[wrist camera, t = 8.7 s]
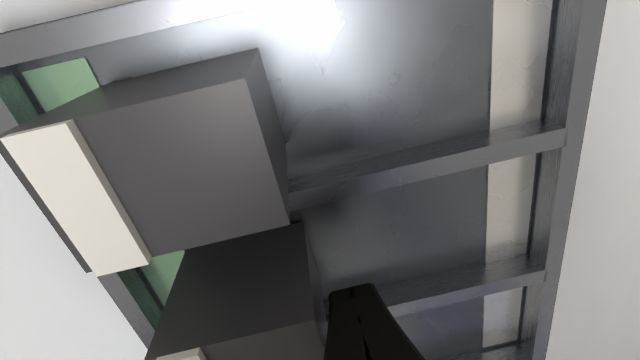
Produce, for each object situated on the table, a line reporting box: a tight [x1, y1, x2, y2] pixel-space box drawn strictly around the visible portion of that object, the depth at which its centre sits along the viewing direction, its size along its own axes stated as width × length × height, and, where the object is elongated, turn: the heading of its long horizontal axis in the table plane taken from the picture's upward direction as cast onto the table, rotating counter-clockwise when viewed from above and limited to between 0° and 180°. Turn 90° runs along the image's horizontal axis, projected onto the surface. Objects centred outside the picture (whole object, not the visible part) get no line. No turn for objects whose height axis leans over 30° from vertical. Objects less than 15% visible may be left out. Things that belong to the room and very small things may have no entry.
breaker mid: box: [145, 221, 328, 360], centre depth 10 cm, size 4×3×4 cm
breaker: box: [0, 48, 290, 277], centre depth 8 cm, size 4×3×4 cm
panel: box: [0, 0, 607, 360], centre depth 12 cm, size 15×17×2 cm
